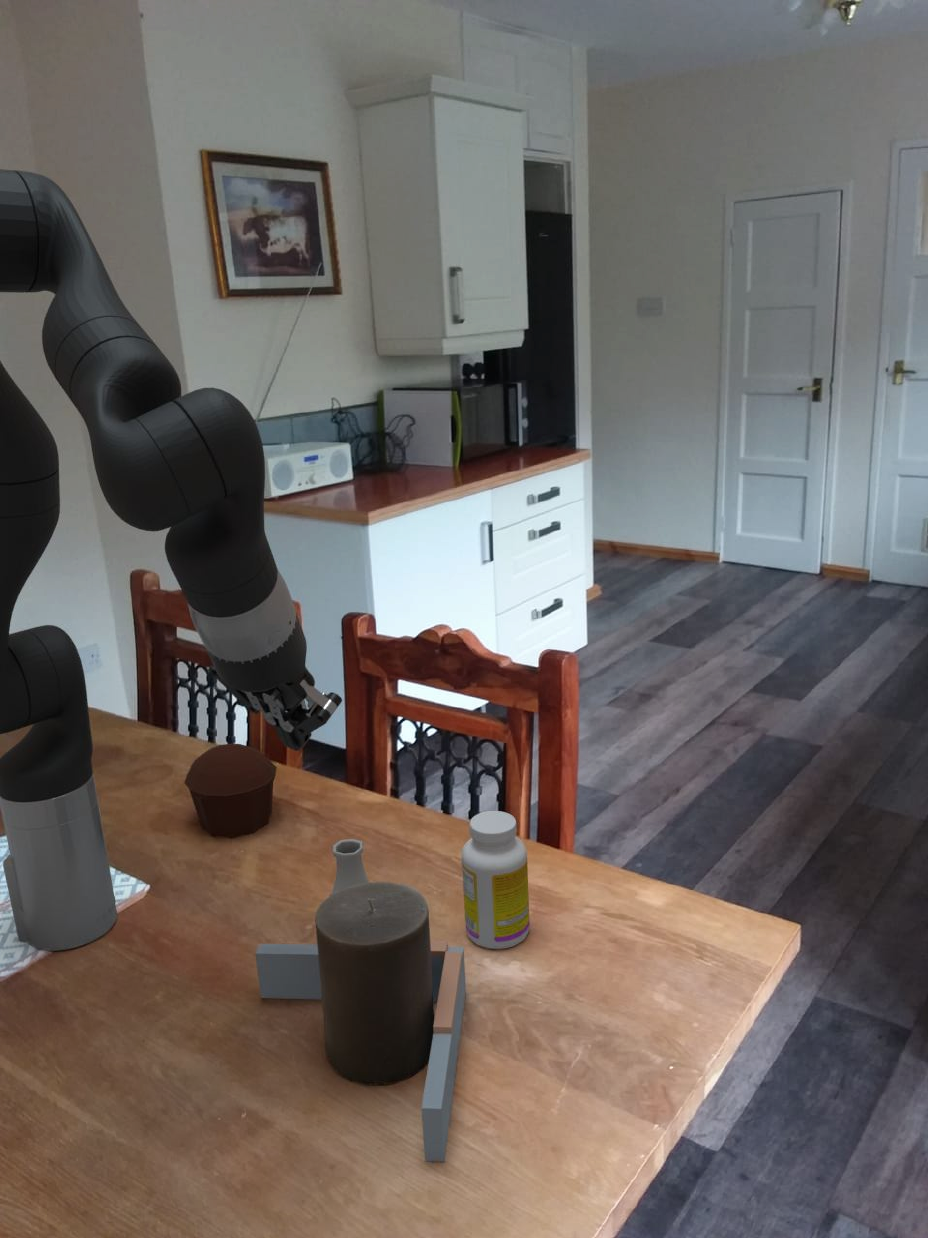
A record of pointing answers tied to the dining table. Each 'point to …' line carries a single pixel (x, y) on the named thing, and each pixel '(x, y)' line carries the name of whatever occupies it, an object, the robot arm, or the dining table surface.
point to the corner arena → (299, 978)
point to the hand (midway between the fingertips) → (297, 740)
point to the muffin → (232, 790)
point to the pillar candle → (376, 981)
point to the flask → (349, 864)
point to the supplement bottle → (495, 882)
